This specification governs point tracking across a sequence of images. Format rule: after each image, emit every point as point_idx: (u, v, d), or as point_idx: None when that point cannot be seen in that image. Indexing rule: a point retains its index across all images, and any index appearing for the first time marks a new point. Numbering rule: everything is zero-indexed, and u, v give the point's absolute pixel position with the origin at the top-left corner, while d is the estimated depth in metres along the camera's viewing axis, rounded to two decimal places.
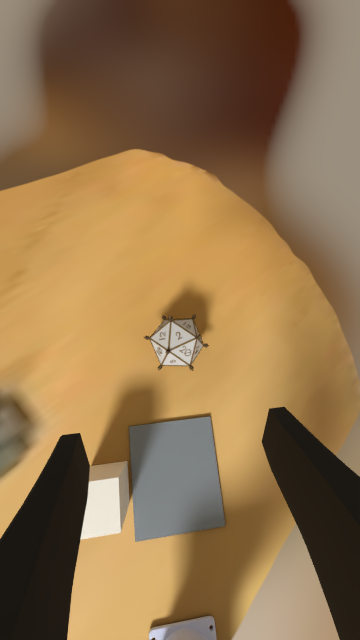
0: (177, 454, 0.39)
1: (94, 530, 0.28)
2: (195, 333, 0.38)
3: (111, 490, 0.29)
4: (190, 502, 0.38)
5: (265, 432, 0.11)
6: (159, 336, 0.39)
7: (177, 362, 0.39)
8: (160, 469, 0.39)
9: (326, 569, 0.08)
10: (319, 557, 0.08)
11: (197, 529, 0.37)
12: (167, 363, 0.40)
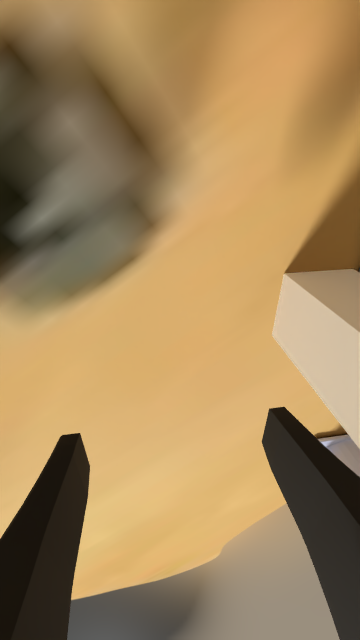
0: None
1: None
2: None
3: None
4: None
5: (265, 432, 0.11)
6: None
7: None
8: None
9: (326, 569, 0.08)
10: (319, 557, 0.08)
11: None
12: None
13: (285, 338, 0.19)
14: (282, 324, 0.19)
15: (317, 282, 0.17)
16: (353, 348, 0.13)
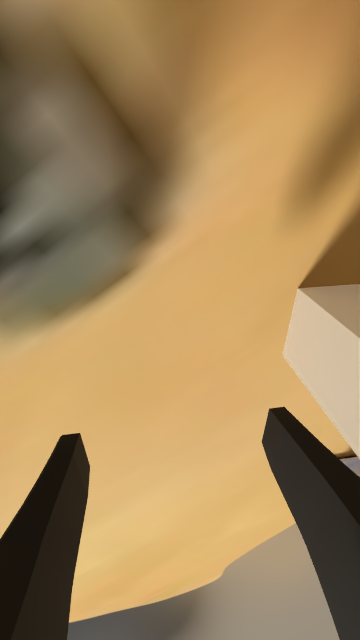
0: None
1: None
2: None
3: None
4: None
5: (265, 432, 0.11)
6: None
7: None
8: None
9: (326, 569, 0.08)
10: (319, 557, 0.08)
11: None
12: None
13: (298, 361, 0.17)
14: (295, 344, 0.17)
15: (337, 300, 0.15)
16: None
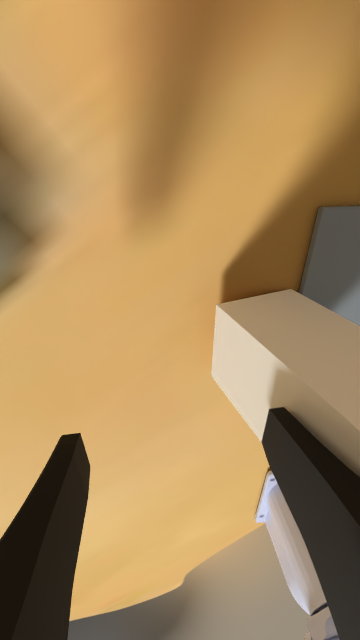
0: None
1: None
2: None
3: None
4: None
5: (265, 432, 0.11)
6: None
7: None
8: (356, 310, 0.17)
9: (326, 569, 0.08)
10: (319, 557, 0.08)
11: None
12: None
13: (227, 383, 0.15)
14: (222, 365, 0.15)
15: (257, 315, 0.14)
16: (319, 419, 0.09)
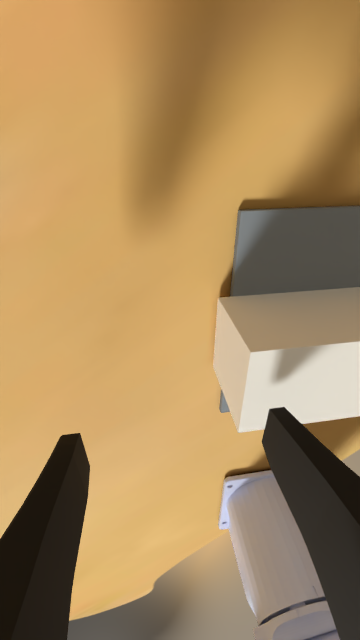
0: None
1: None
2: None
3: None
4: None
5: (265, 432, 0.11)
6: None
7: None
8: None
9: (326, 569, 0.08)
10: (319, 557, 0.08)
11: None
12: None
13: None
14: (263, 407, 0.13)
15: (278, 330, 0.12)
16: None
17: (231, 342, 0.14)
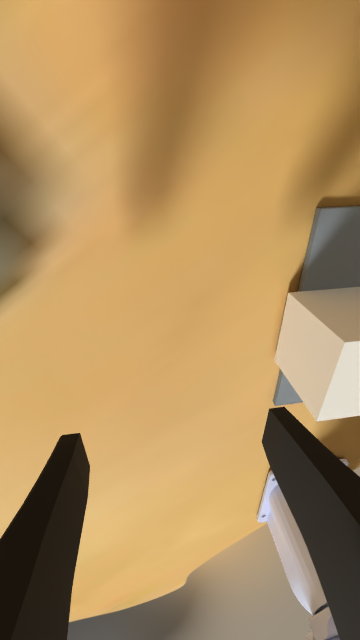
0: None
1: None
2: None
3: None
4: None
5: (265, 432, 0.11)
6: None
7: None
8: None
9: (326, 569, 0.08)
10: (319, 557, 0.08)
11: None
12: None
13: (354, 404, 0.14)
14: (345, 396, 0.14)
15: None
16: None
17: (310, 334, 0.14)
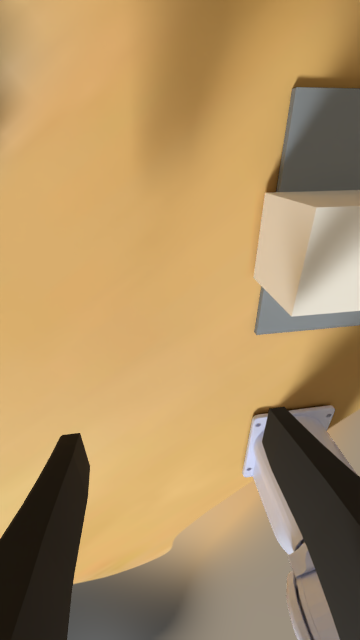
0: None
1: None
2: None
3: None
4: None
5: (265, 432, 0.11)
6: None
7: None
8: None
9: (326, 569, 0.08)
10: (319, 557, 0.08)
11: (359, 323, 0.21)
12: None
13: (331, 296, 0.13)
14: (320, 283, 0.13)
15: (337, 201, 0.12)
16: None
17: (285, 223, 0.13)
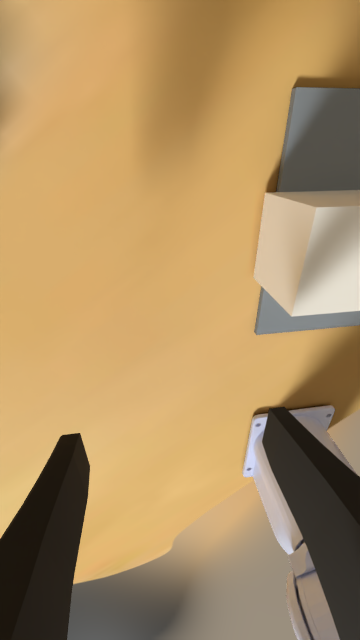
0: None
1: None
2: None
3: None
4: None
5: (265, 432, 0.11)
6: None
7: None
8: None
9: (326, 569, 0.08)
10: (319, 557, 0.08)
11: (359, 323, 0.21)
12: None
13: (331, 296, 0.13)
14: (320, 283, 0.13)
15: (337, 201, 0.12)
16: None
17: (285, 223, 0.13)
